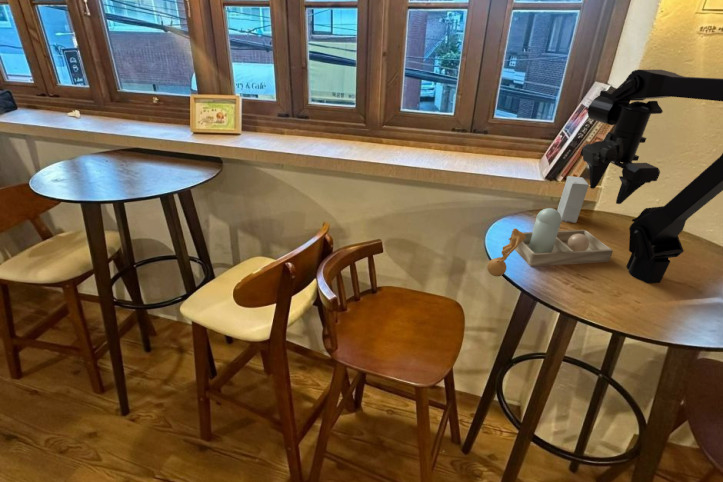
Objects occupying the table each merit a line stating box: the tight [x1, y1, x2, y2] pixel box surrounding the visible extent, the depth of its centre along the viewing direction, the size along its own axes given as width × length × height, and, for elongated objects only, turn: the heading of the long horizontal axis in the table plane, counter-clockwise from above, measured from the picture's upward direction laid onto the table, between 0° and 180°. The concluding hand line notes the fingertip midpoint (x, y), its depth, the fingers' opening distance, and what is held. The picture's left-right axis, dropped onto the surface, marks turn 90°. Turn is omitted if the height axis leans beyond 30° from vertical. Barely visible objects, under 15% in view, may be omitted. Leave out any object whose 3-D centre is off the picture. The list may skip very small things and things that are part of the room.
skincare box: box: [556, 175, 590, 224], centre depth 112 cm, size 6×4×12 cm
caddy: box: [508, 229, 614, 267], centre depth 96 cm, size 10×20×4 cm, turn 99°
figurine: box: [486, 228, 526, 277], centre depth 86 cm, size 8×6×12 cm
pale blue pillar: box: [529, 207, 562, 253], centre depth 93 cm, size 5×5×12 cm
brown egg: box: [568, 234, 589, 251], centre depth 97 cm, size 5×5×5 cm
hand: (604, 195), depth 97 cm, fingers open, 9 cm apart
